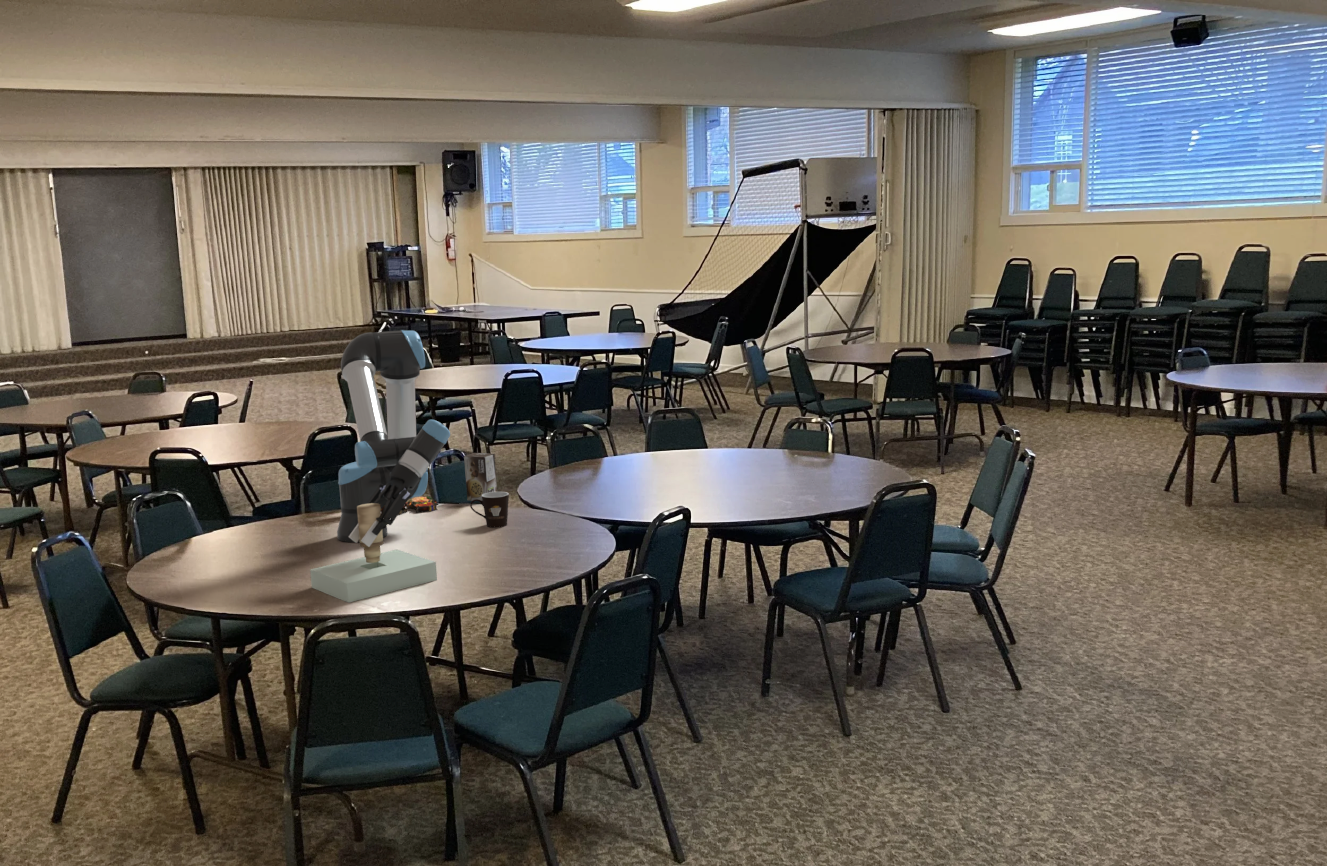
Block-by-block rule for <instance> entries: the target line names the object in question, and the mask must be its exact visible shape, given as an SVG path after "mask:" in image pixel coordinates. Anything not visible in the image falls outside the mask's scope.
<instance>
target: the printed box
mask: <svg viewBox="0 0 1327 866" xmlns="http://www.w3.org/2000/svg"><path fill="white" fill-rule="evenodd" d="M495 456H496V455H495V453H491V452H490V453H486V452H485V453H484V452H483V453H482V452H472V453H469V454H467V455H464V456H463V459H464V460H463V462H464V472H465V474H464V476H465V485H466V497H467V499H466V500H467V501H471V502H472V501H473V500H475V499H478V500H481V501H482V496H481V495H482V494H485V493H489V492H498V487H497V472H496V471H497V469H496V457H495Z"/></svg>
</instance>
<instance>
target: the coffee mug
mask: <svg viewBox="0 0 1327 866" xmlns="http://www.w3.org/2000/svg"><path fill="white" fill-rule="evenodd" d="M481 496H482V501H481V500H478V499H475V500H473V501H471V502H470V505H469V507H470V509H471V510H472V511H473V512H474V513H475V514H477V515H478V516H481V518H482V517H483V518H484V519H485V523H486V526H487V528H491V529H493V528H495V529H496V528H502V527H503V528H504V527H506V526H508V516H509V515H508V514H509V497H510V493H509V492H507V491H497V492H489V493H485V494H482V495H481ZM475 502H479V503H480V504H481V506H482V507H483V512H484V514H482V513H480V512H478V511H477V510H476V509H474V507H473V506H472V505H473V503H475Z"/></svg>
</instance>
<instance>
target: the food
mask: <svg viewBox="0 0 1327 866" xmlns="http://www.w3.org/2000/svg"><path fill="white" fill-rule="evenodd" d="M406 506H407V507H406ZM437 506H439V503H438V501H436V500H435V499H433V497H431V496H428V495H427V496H419V497H413V498H411V499H409V500H408V501H407V502H406V503H405V505H404V506H403V508H402V509H401V511H400V512H399V514H398V515H397V516H400V515H403V514H406V513H408V512H409V514H411V511H409V510H410V509H412V510H413V509H416V510H415V514H416V513H417V514H419V513H426V512H434V511H439V510H438V508H437ZM384 507H385V506H384ZM384 507H383V508H382V509H381V513H382V511H383V509H384Z"/></svg>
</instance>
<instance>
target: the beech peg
mask: <svg viewBox="0 0 1327 866" xmlns="http://www.w3.org/2000/svg"><path fill="white" fill-rule="evenodd" d="M357 514H358V526H359V539H360V542H359V547H360V548H361V547H362V548H363V554H364V555H363V557H366V562H367V563H375V562H379V561H380V555H381V553H382V552H381V546H383V545H384V543H385V542H384V537H383V532H382V530H381V531H380V533H379V534H378V535H377V537H376V538H375V540H374V541H373V543H372V544H371V545H370V547H368V546H367V545H366V544H364V543H363V542H362V541H361V540H362V538H363V537H364V536H365V534H366V533H367V531H368V530H369V529H370V527H371V526H372V524H373V523H374V522H375V520H376V518H378V517H380V515H381V507H380V504H377V503H369V504H362V505H359V506H357ZM376 521H378V520H376ZM378 522H379V521H378Z"/></svg>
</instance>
